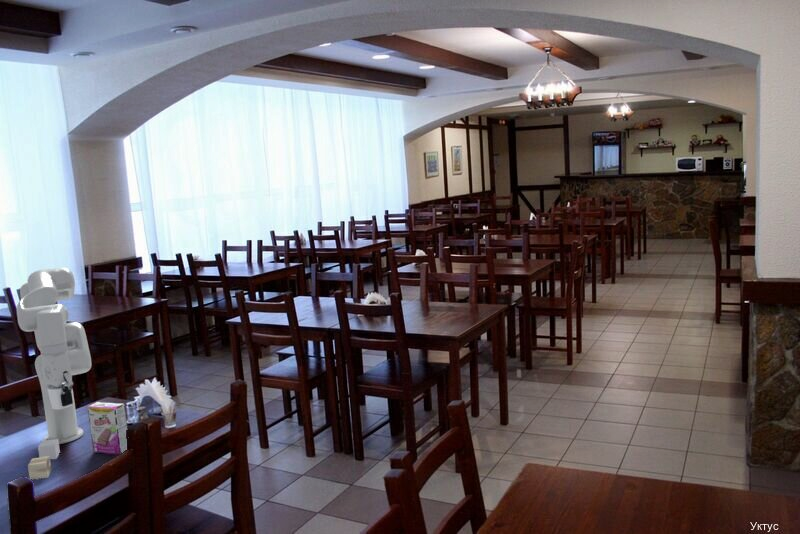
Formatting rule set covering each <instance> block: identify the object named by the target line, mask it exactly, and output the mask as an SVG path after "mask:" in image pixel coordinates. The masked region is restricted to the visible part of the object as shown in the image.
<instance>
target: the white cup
mask: <svg viewBox="0 0 800 534" xmlns="http://www.w3.org/2000/svg"><path fill="white" fill-rule="evenodd" d="M64 383H66V382H62V384H64ZM65 387H66V385H65V386H63V388H65ZM47 390H48V394H49V398H50V401H51V405H52V408H53V409H56V410H57V409H64V408H67V407H70V406H71V405H72V404H70V405H67V406H62V402H61V395H60V394H62V393H61V390H60V387H55V386H52V385H49V386H48V387H47Z"/></svg>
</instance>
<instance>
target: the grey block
mask: <svg viewBox="0 0 800 534" xmlns="http://www.w3.org/2000/svg"><path fill="white" fill-rule="evenodd" d="M37 450H38V456H39V457H46V456H50V459H52V460H57V459H58V457H59V455H60V454H59V453H61V450H60V444H59V442H58V439H53V440H46V441H44V440H42V441H41V442H40V443H39V445H38V446H37ZM39 457H38V458H39Z"/></svg>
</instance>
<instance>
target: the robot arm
mask: <svg viewBox="0 0 800 534" xmlns="http://www.w3.org/2000/svg"><path fill="white" fill-rule="evenodd" d="M75 281H76V279H75V276H74V274H73V272H72V271H71V270H70V269H69V268H66V267H57V268H46V269H39V270H37V271H36V270H35V271H33V272H31V273H30V275H29V276H28V278H27V282H25V283H24V284H22V285H21V286H20V288H19V295H20V300H19V301H18V303H17V306H16V317H17V324H18V326H19V328H20V330H22V331H23V332H33V333H34V336H35V342H36V346H37V349H38V350H39V351H40V355H38V356H37V357H36V358H35V361H34V367H35V371H36V374H37V377H38V380H39V381H38V382H39V385H40V388H41V393H42V403H43V410H44V415H45V421H46V422H45V423H46V428H47V429H46V430H47V434H46V435H45V436H44V437H43V441H46V440H53V439H58V442H59V445H61V444H66V443H70V442H73V441H76V440H78V439H80V438H81V437H82V436H83V435H84V430H83V428H81V427H79V426H78V420H77V412H76V403H75V398H74V396H75V395H74V390H73V386H74V382H73V376H76V375H81V374H84V373H85V374H86V373H87V372H89V371H90V370H91V368H92V357H91V351H90V348H89V343H88V339H87V335H86V330H85V328H84V326H83V324H81V323H80V322H76V321H74V322H68V321H69V319H70V318H69V315H70V314H69V309H68V308H67V307H66V306H65V305H63V304H60V303H57V302H59V301H60V302H62V301H67V300H70V299H72V298H74V295H75V285H76V282H75ZM62 382H66V383H64V384H62ZM49 385H52V386H55V387H60V390H61V393H62V394H60V395H61V402H62V406H67V405H70V404H72V405H71V406H70V407H67V408H64V409H57V410H56V409H53V408H52V405H51V401H50V398H49V394H48V390H47V387H48V386H49ZM65 385H66V387H65V388H63V386H65Z"/></svg>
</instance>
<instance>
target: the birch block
mask: <svg viewBox="0 0 800 534" xmlns="http://www.w3.org/2000/svg"><path fill="white" fill-rule="evenodd" d="M51 464H52V463H51V460H50V456H46V457H34V458H33V457H32V458H31V460H30V461H29V462H28V464H27V470H28V475H29V480H30V479H32V480H31V481H34V480H33V479H36V480H42V479H48V478H49V476H50V474H51V473H52V465H51ZM39 478H40V479H39ZM41 478H42V479H41Z"/></svg>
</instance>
